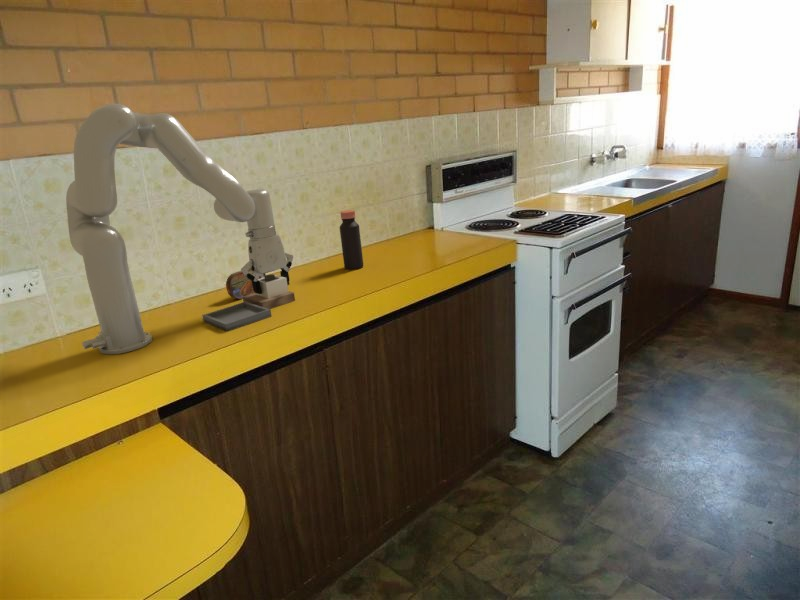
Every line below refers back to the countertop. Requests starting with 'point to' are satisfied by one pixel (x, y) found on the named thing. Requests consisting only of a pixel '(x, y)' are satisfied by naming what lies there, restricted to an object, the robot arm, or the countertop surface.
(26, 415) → the countertop surface
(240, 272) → the tin
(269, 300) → the wooden stand
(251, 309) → the tray
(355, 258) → the bottle
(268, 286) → the off-white open box
